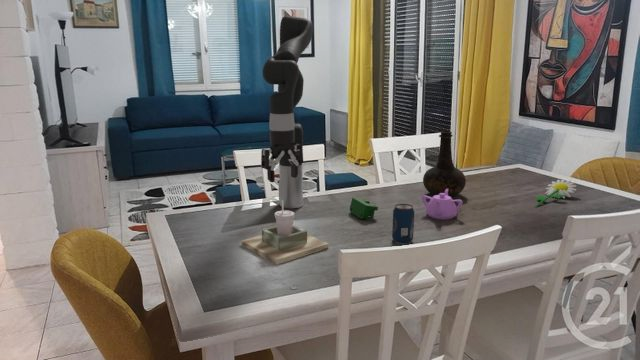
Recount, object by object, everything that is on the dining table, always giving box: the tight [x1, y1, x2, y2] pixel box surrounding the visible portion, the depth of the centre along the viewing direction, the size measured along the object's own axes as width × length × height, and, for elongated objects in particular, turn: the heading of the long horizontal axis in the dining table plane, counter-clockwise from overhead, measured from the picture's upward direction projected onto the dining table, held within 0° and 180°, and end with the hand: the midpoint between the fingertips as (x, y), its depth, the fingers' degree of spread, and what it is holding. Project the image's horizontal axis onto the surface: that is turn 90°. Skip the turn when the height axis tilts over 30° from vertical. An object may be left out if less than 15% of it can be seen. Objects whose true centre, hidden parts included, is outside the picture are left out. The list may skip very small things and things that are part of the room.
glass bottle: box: [422, 130, 467, 198], centre depth 217 cm, size 18×18×28 cm
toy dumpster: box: [349, 197, 379, 220], centre depth 193 cm, size 12×6×9 cm, turn 17°
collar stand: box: [240, 224, 329, 265], centre depth 163 cm, size 20×20×6 cm
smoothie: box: [274, 200, 296, 237], centre depth 161 cm, size 6×6×14 cm
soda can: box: [391, 203, 415, 245], centre depth 167 cm, size 7×7×12 cm
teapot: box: [421, 189, 463, 221], centre depth 192 cm, size 12×14×9 cm
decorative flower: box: [534, 179, 577, 207], centre depth 213 cm, size 13×5×30 cm
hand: (283, 179), depth 158 cm, fingers open, 8 cm apart
